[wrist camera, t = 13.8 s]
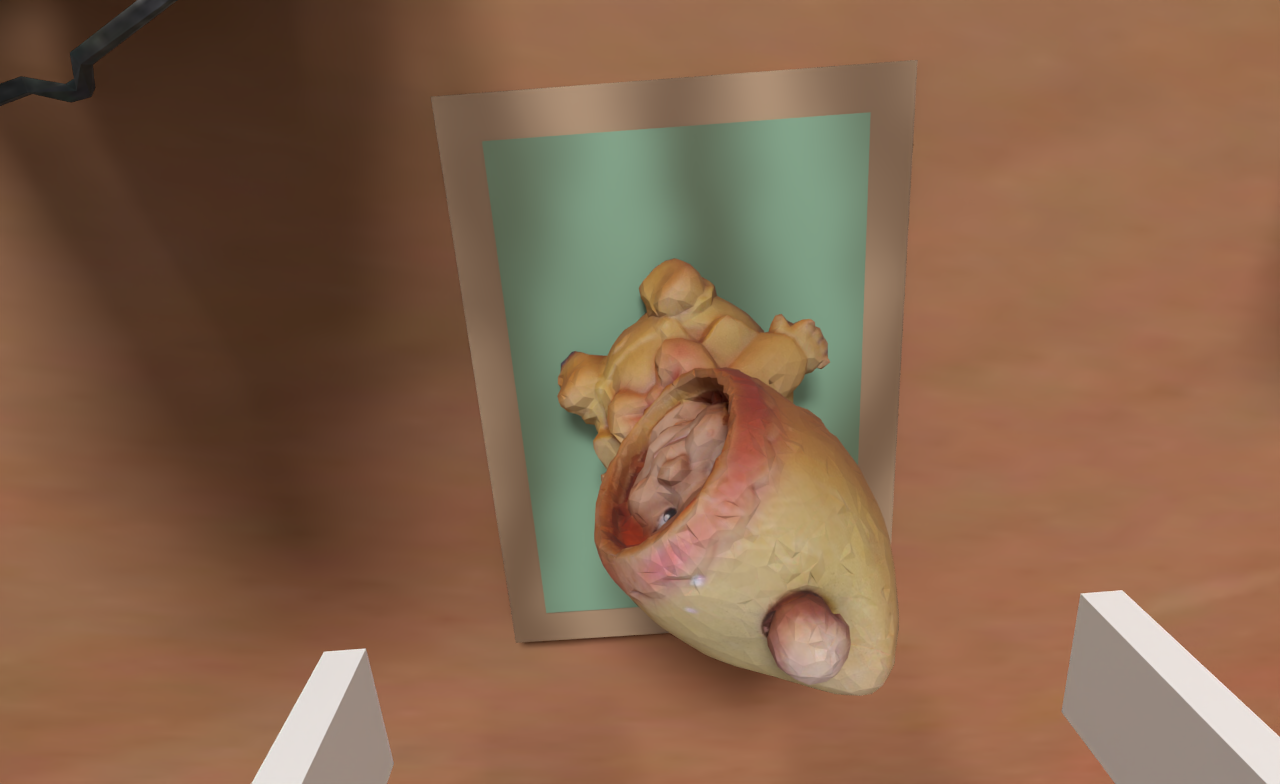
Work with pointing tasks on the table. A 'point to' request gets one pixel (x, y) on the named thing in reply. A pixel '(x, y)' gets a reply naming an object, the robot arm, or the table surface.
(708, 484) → the figurine
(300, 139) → the table surface
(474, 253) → the green framed board
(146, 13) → the lantern
